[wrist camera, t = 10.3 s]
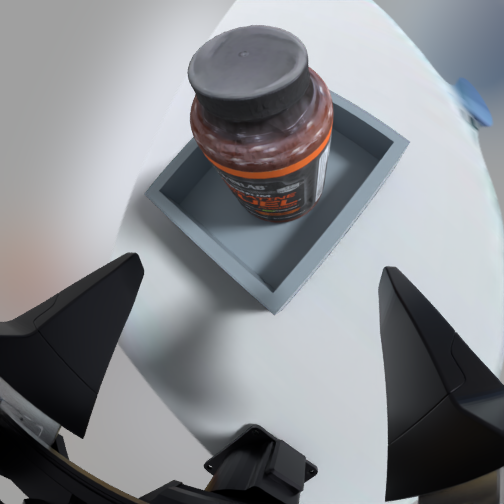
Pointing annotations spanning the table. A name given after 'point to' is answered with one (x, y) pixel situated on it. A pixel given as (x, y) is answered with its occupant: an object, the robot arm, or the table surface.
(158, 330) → the table surface
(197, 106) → the supplement bottle
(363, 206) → the tote
